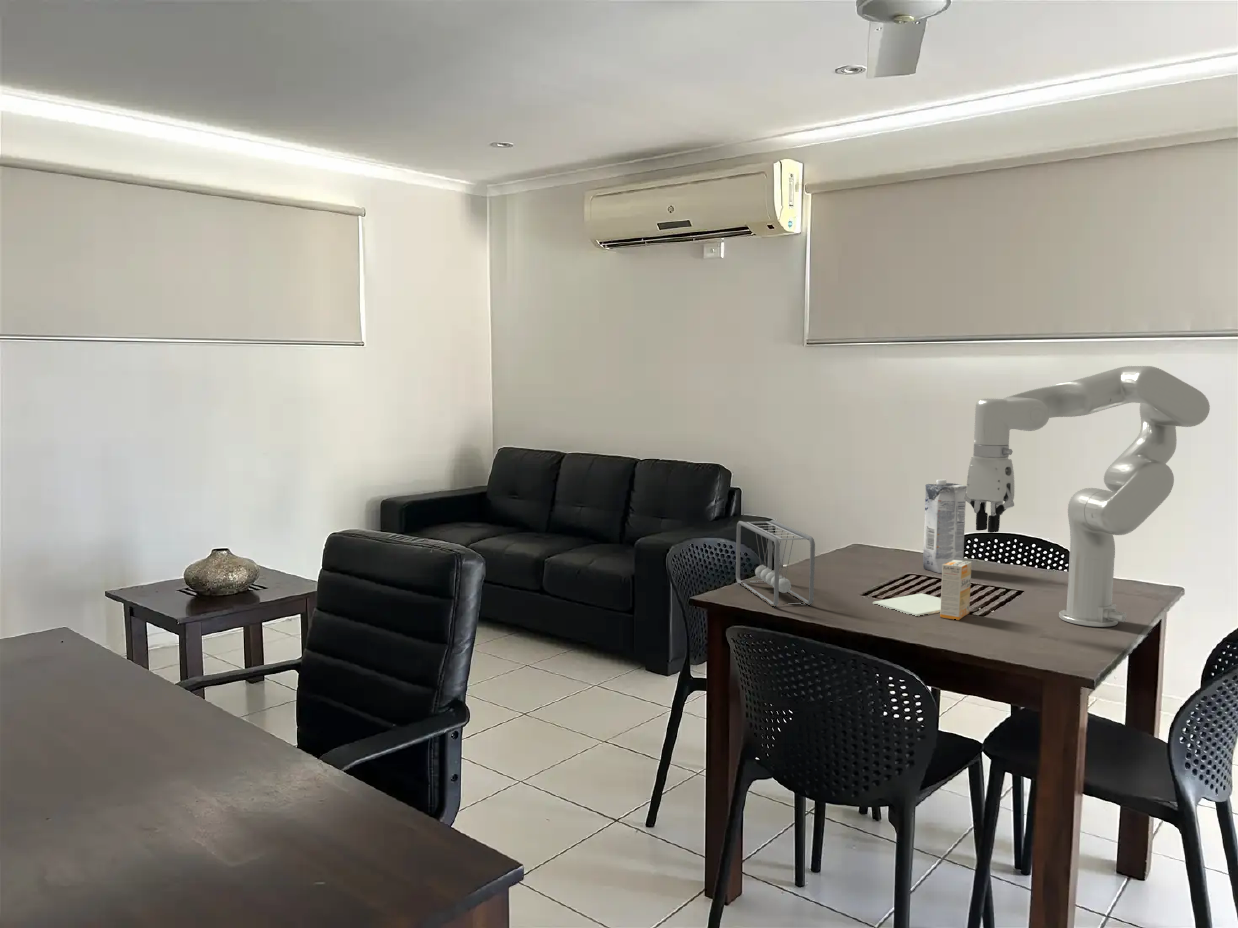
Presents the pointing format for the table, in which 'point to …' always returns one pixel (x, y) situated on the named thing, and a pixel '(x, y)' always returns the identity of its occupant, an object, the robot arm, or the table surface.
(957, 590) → the supplement box
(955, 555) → the juice carton
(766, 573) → the newton's cradle
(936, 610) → the mat
